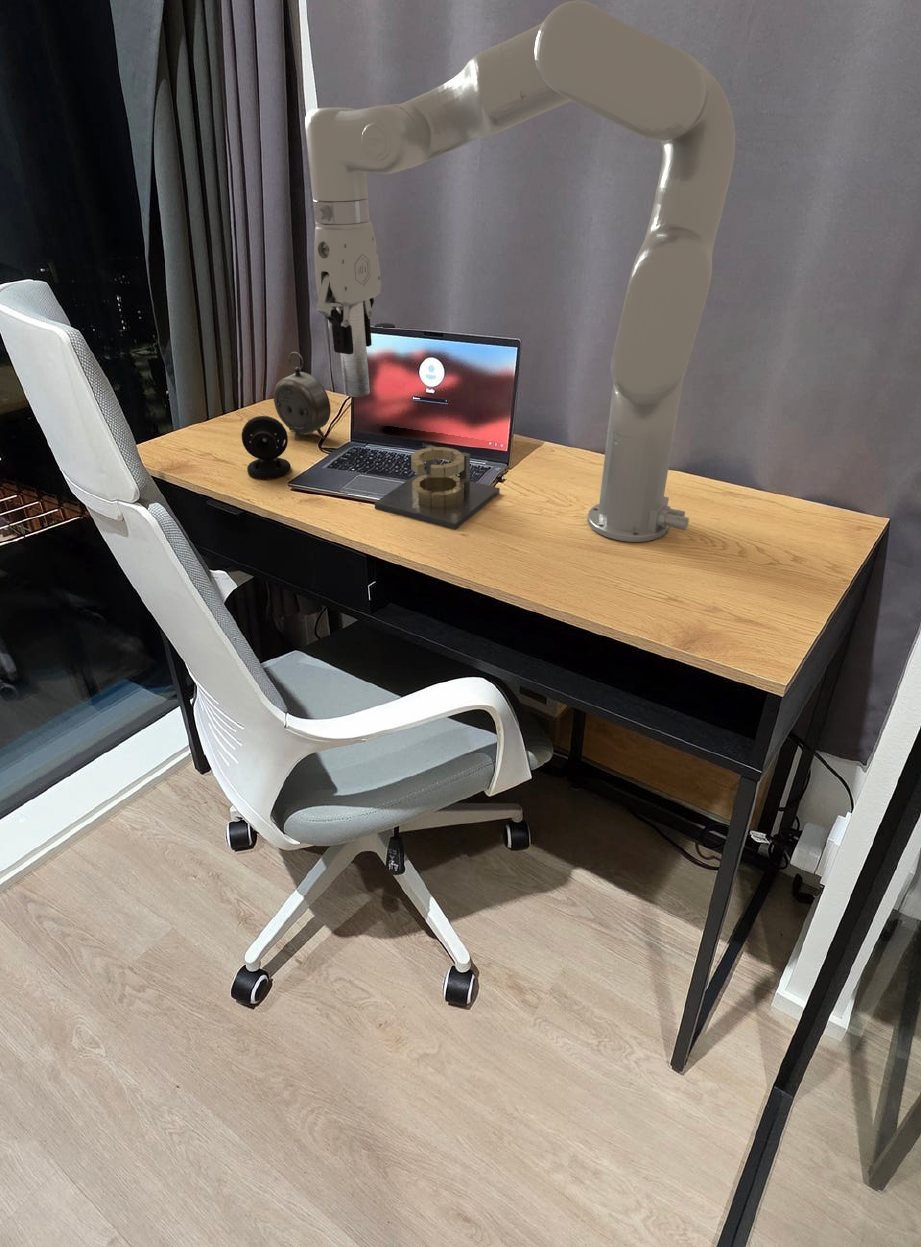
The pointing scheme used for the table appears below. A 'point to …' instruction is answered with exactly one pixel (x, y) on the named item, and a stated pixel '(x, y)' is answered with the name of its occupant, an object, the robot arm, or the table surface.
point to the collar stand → (439, 490)
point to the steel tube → (355, 355)
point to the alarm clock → (302, 402)
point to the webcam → (265, 447)
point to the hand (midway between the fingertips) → (353, 347)
